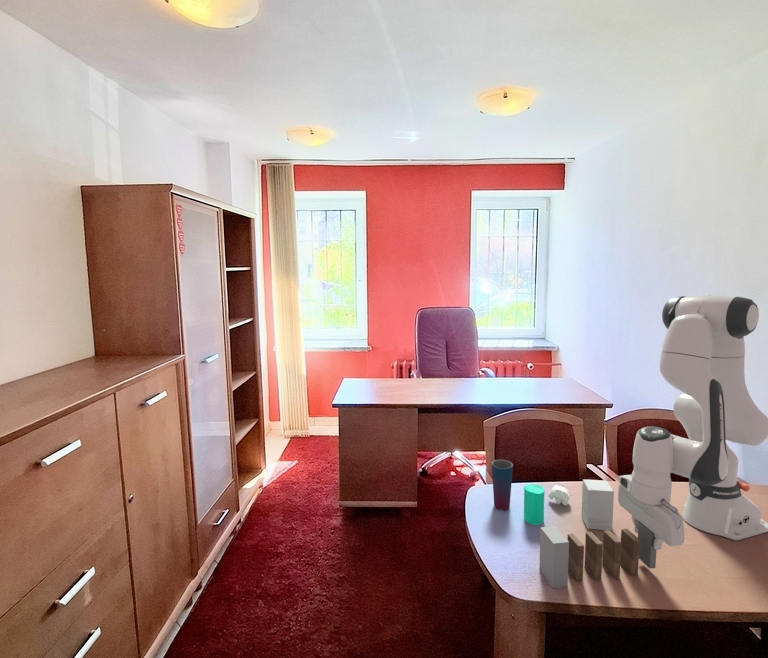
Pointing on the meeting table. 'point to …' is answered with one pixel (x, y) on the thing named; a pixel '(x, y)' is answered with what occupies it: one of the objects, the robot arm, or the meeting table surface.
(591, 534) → the domino
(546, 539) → the end block
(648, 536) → the gray domino
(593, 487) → the supplement box
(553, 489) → the elephant figurine
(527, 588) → the meeting table surface
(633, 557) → the domino
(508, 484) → the cup
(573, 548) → the domino
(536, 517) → the candle
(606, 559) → the domino
